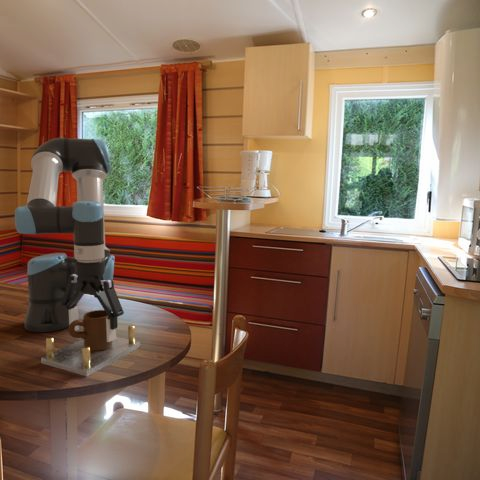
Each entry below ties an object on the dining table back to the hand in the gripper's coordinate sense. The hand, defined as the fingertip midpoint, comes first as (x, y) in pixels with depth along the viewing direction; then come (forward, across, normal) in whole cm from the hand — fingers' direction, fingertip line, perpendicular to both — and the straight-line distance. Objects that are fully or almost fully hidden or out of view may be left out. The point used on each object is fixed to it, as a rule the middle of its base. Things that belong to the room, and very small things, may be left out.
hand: (92, 335), depth 109 cm
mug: (+4, 0, 0) cm, 4 cm away
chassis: (+5, 0, 0) cm, 5 cm away
